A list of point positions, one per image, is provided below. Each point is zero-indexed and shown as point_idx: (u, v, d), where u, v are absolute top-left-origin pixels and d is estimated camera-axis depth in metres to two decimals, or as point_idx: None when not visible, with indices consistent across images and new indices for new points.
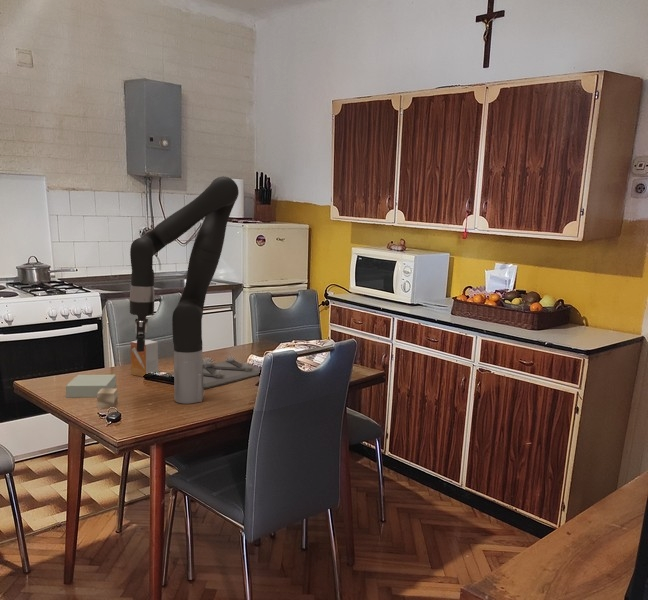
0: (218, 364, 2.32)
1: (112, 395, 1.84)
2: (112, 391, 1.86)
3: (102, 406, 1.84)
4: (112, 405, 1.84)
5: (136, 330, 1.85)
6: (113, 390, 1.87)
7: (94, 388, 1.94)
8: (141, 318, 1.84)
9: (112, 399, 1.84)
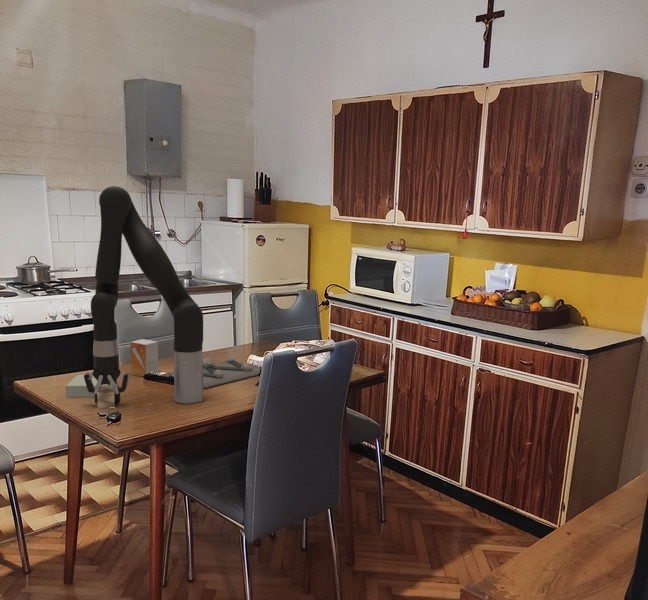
0: (218, 364, 2.32)
1: (112, 395, 1.84)
2: (112, 391, 1.86)
3: (102, 406, 1.84)
4: (112, 405, 1.84)
5: (115, 384, 1.85)
6: (113, 390, 1.87)
7: None
8: (118, 369, 1.85)
9: (112, 399, 1.84)
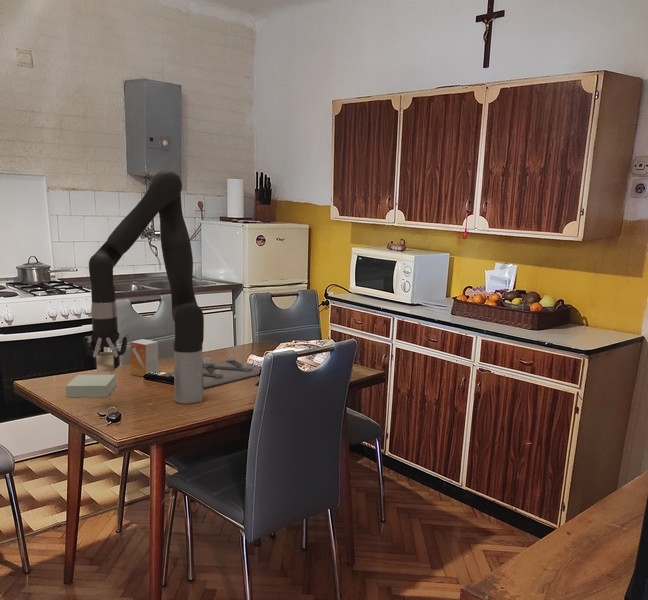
0: (218, 364, 2.32)
1: (111, 358, 1.82)
2: (111, 354, 1.84)
3: (101, 369, 1.82)
4: (112, 368, 1.83)
5: (114, 347, 1.83)
6: (112, 353, 1.85)
7: (94, 388, 1.94)
8: (117, 332, 1.84)
9: (111, 362, 1.82)
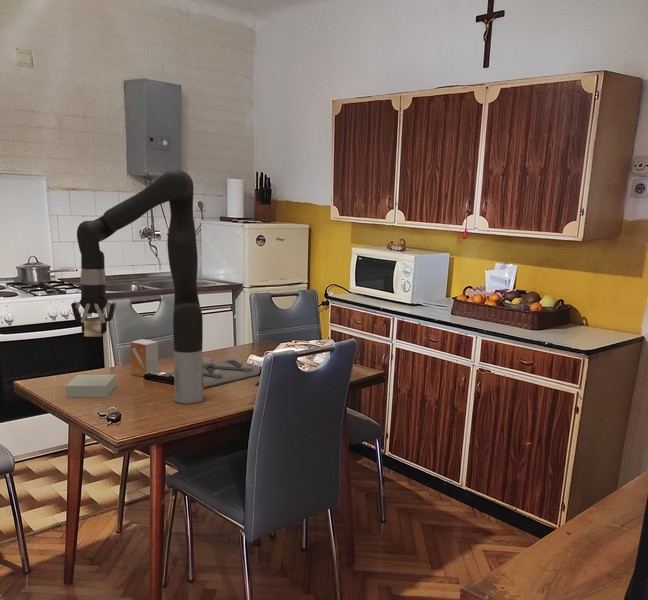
0: (218, 364, 2.32)
1: (99, 323, 1.88)
2: (99, 320, 1.90)
3: (89, 334, 1.89)
4: (99, 333, 1.89)
5: (102, 313, 1.89)
6: (100, 319, 1.91)
7: (94, 388, 1.94)
8: (105, 299, 1.90)
9: (99, 327, 1.89)
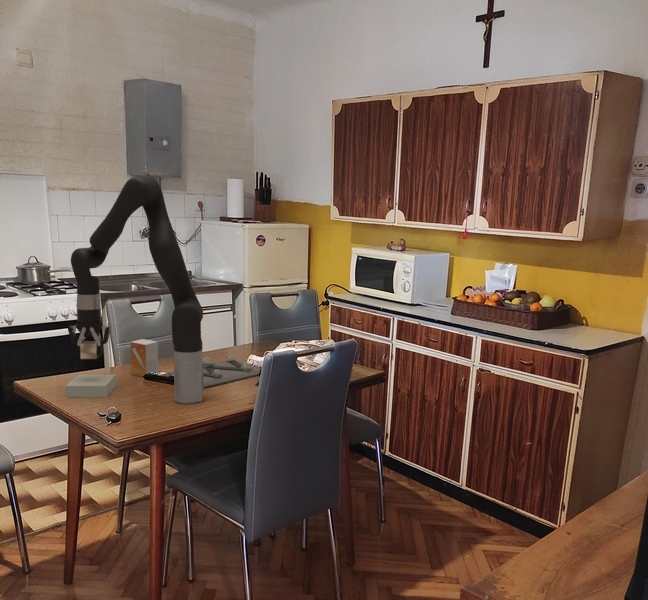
0: (218, 364, 2.32)
1: (94, 346, 1.96)
2: (94, 343, 1.97)
3: (85, 357, 1.96)
4: (94, 356, 1.96)
5: (97, 337, 1.96)
6: (95, 342, 1.98)
7: (94, 388, 1.94)
8: (100, 323, 1.97)
9: (94, 350, 1.96)
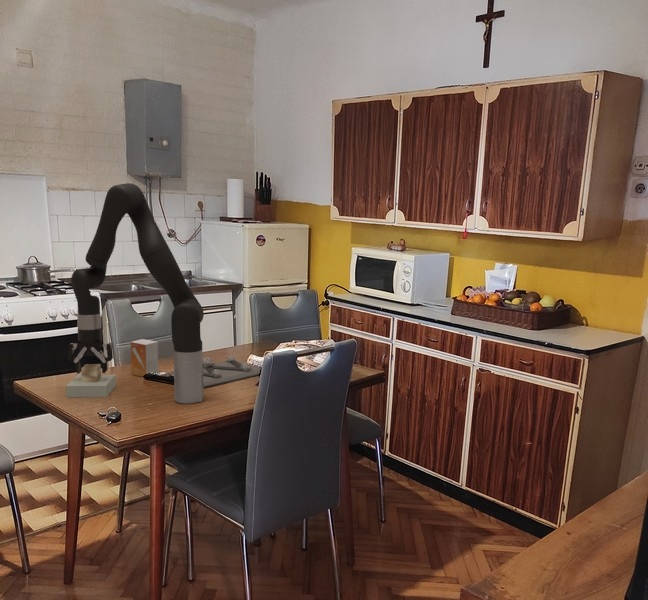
0: (218, 364, 2.32)
1: (95, 370, 1.97)
2: (95, 366, 1.99)
3: (86, 380, 1.97)
4: (95, 379, 1.98)
5: (100, 354, 1.98)
6: (96, 365, 2.00)
7: (94, 388, 1.94)
8: (101, 342, 1.98)
9: (95, 373, 1.97)
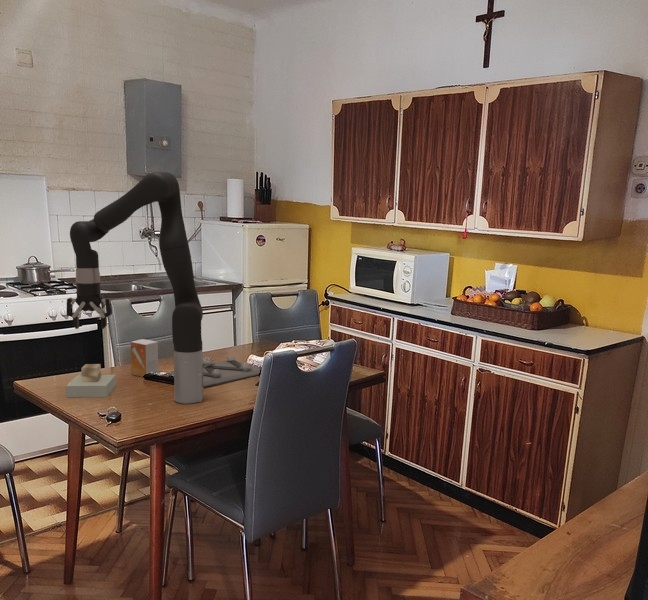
0: (218, 364, 2.32)
1: (95, 370, 1.97)
2: (95, 366, 1.99)
3: (86, 380, 1.97)
4: (95, 379, 1.98)
5: (99, 309, 1.95)
6: (96, 365, 2.00)
7: (94, 388, 1.94)
8: (100, 297, 1.96)
9: (95, 373, 1.97)
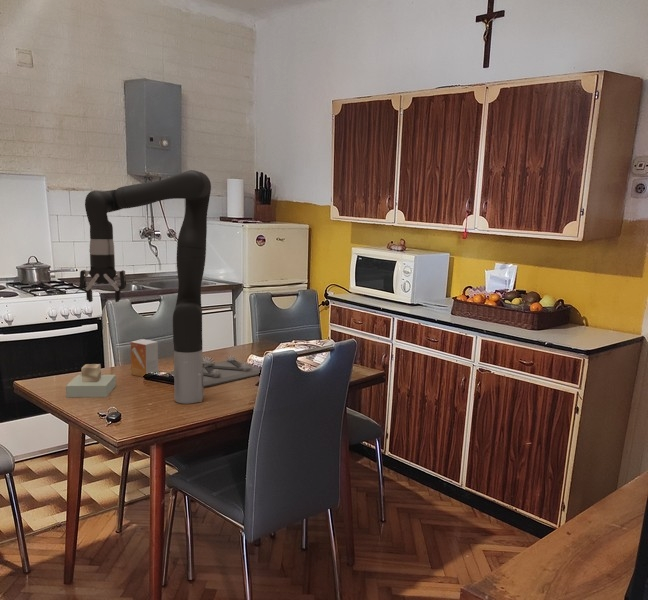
0: (218, 363, 2.32)
1: (95, 370, 1.97)
2: (95, 366, 1.99)
3: (86, 380, 1.97)
4: (95, 379, 1.98)
5: (113, 282, 1.90)
6: (96, 365, 2.00)
7: (94, 388, 1.94)
8: (114, 269, 1.91)
9: (95, 373, 1.97)
